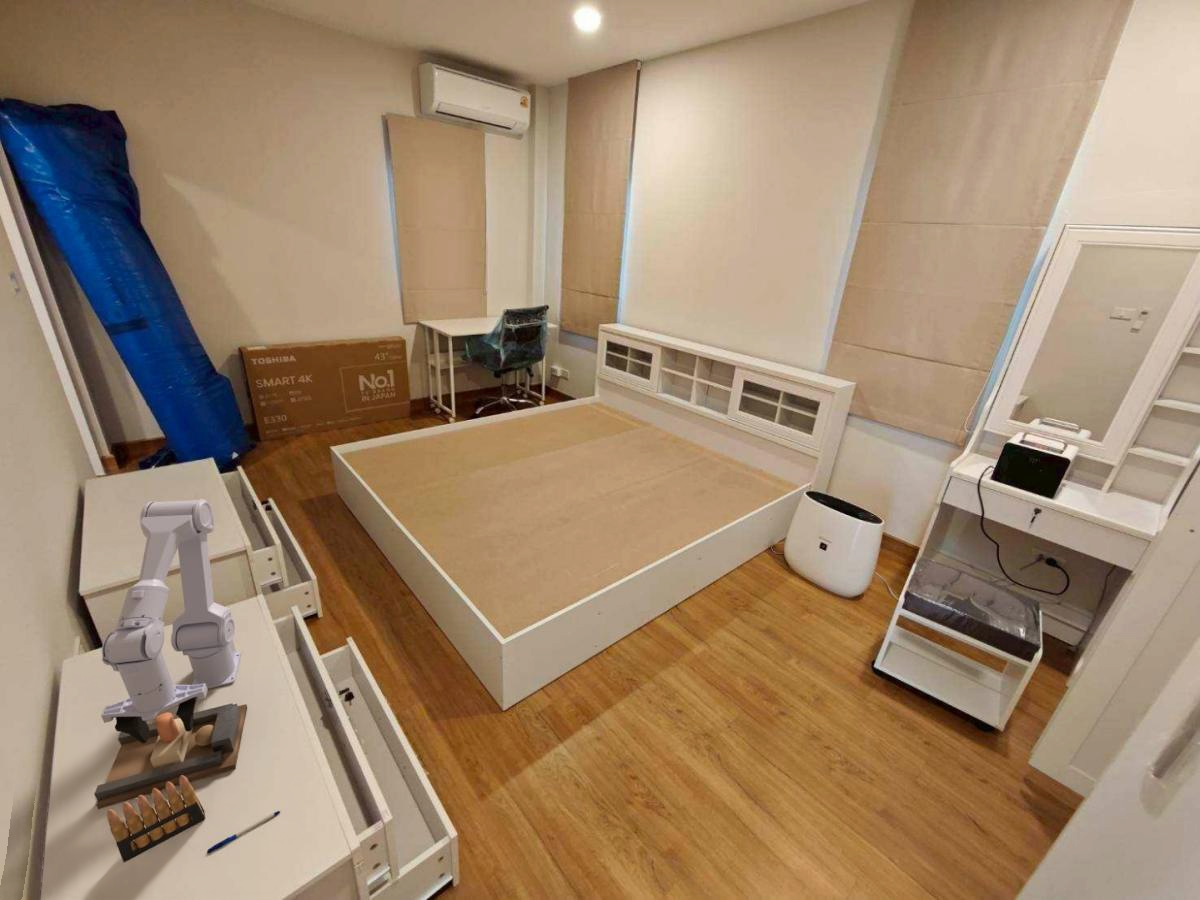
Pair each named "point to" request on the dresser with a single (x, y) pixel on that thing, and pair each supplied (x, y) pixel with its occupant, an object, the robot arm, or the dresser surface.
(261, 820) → the ballpoint pen
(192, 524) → the robot arm
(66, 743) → the dresser surface
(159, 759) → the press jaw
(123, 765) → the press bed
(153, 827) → the ammunition clip
